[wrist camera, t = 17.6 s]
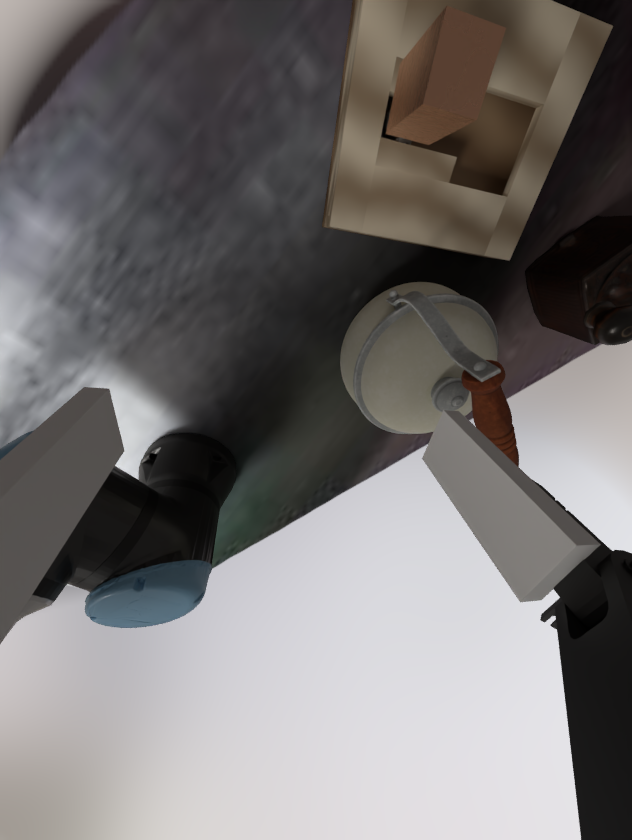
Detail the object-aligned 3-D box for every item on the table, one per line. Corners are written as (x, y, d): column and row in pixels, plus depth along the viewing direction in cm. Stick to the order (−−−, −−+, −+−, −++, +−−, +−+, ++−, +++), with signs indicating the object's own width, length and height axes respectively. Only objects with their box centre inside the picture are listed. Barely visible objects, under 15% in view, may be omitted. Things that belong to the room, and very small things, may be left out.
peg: (402, 167, 31) (480, 131, 20) (358, 156, 30) (413, 112, 19) (418, 101, 29) (517, 17, 17) (370, 87, 28) (442, -12, 16)
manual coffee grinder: (597, 208, 38) (816, 194, 23) (607, 281, 43) (788, 308, 28) (486, 291, 41) (611, 326, 26) (509, 348, 47) (622, 404, 32)
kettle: (303, 312, 39) (345, 403, 19) (429, 232, 36) (646, 236, 16) (374, 435, 53) (444, 568, 32) (470, 384, 50) (616, 495, 29)
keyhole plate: (483, 257, 39) (509, 260, 35) (322, 226, 34) (329, 226, 30) (563, 54, 29) (613, 26, 25) (355, -24, 25) (374, -74, 21)
